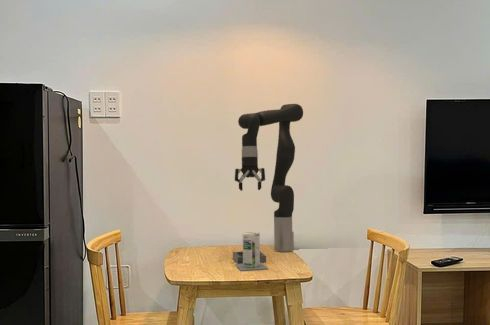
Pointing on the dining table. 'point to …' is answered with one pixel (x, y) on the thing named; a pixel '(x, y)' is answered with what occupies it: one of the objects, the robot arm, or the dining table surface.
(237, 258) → the holder
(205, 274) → the dining table surface
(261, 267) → the mat
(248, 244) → the syrup box
